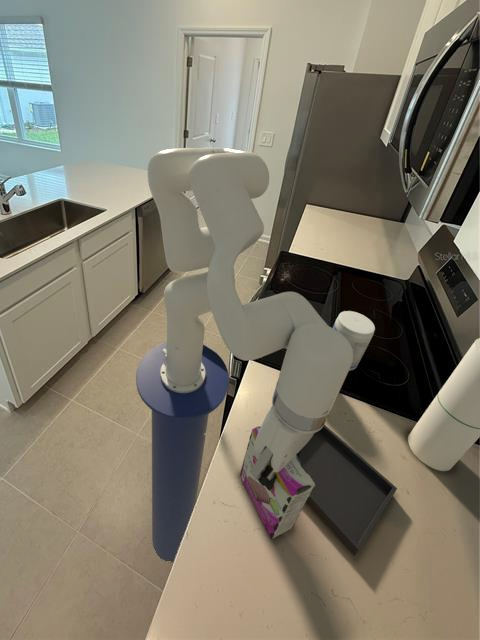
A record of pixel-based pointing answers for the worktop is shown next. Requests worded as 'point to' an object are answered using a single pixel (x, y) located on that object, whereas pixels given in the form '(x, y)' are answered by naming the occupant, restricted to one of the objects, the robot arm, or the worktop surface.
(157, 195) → the robot arm
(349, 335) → the supplement tub
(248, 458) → the candy bar box
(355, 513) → the pan
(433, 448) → the container
